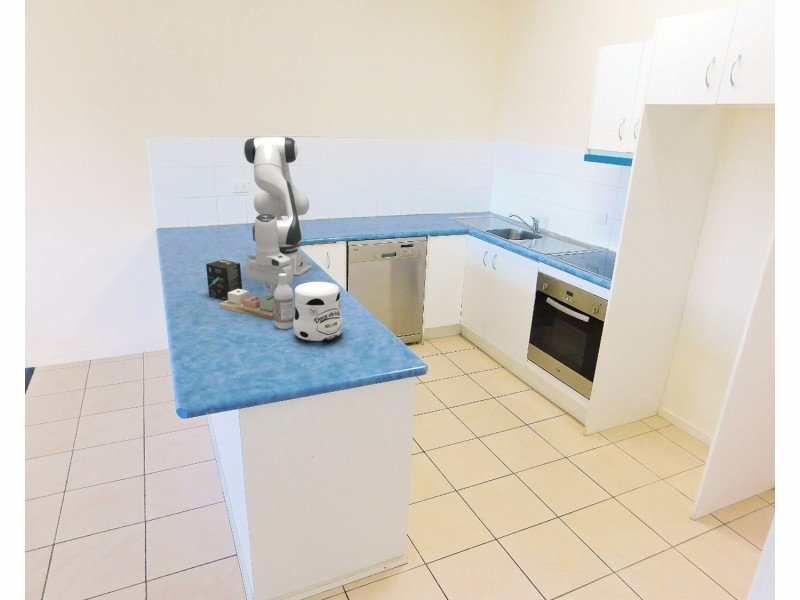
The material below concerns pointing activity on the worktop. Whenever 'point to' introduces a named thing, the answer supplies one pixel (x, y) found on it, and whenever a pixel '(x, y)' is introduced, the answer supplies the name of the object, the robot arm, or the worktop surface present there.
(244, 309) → the board
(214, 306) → the worktop surface
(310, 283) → the milk container
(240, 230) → the worktop surface
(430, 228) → the worktop surface
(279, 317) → the bath foam
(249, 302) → the toy block
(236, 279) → the tampon box
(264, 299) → the toy block
